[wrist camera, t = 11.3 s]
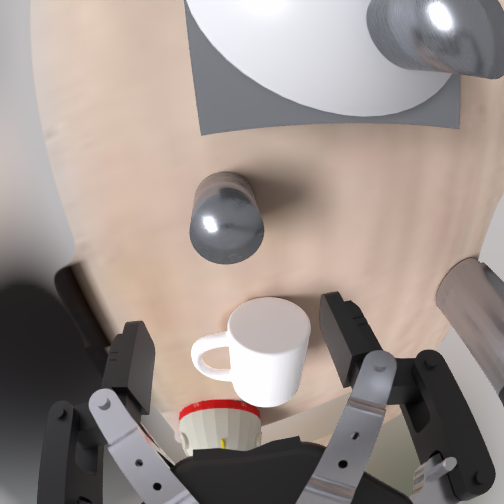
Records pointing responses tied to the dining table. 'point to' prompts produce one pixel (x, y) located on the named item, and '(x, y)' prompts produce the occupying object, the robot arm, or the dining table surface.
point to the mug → (261, 350)
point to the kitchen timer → (220, 426)
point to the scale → (304, 68)
